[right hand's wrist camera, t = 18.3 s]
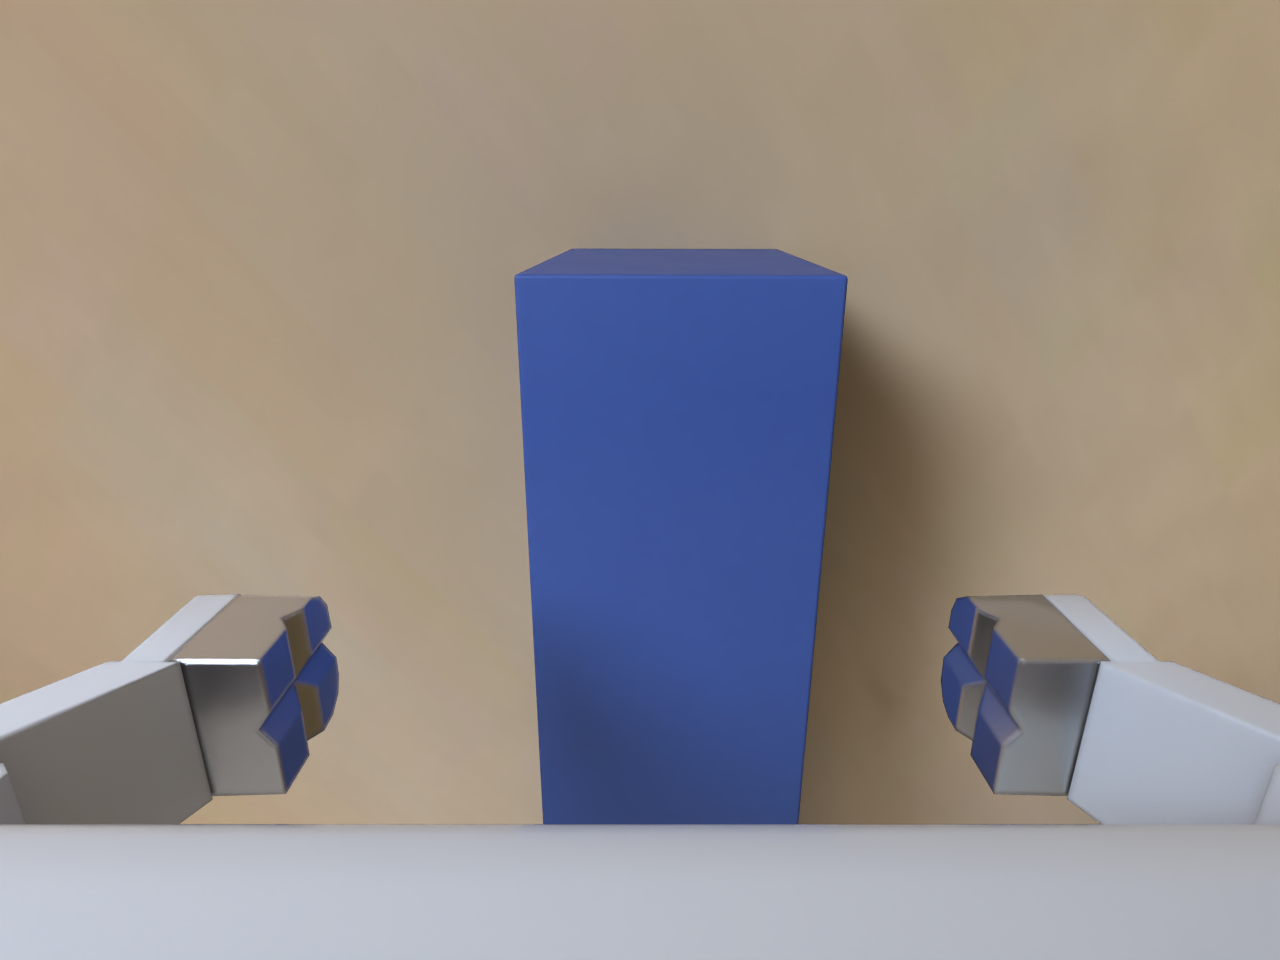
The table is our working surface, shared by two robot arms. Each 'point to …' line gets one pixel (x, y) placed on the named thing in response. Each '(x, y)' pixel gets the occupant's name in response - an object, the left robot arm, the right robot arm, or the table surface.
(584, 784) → the bar
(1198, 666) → the table surface
